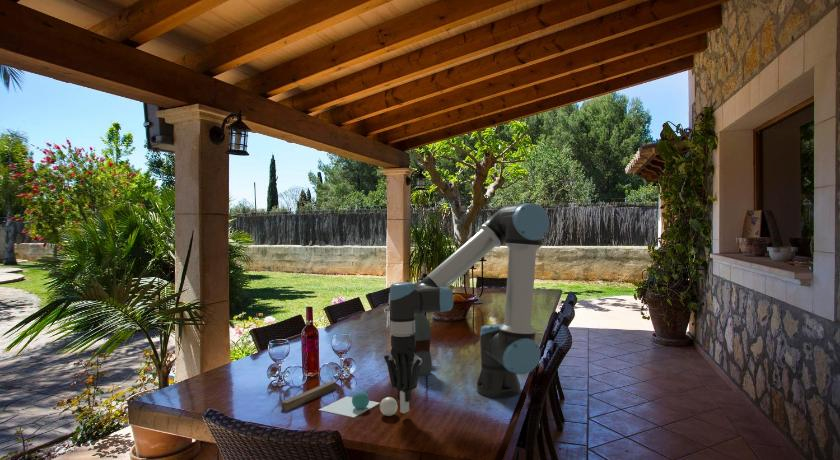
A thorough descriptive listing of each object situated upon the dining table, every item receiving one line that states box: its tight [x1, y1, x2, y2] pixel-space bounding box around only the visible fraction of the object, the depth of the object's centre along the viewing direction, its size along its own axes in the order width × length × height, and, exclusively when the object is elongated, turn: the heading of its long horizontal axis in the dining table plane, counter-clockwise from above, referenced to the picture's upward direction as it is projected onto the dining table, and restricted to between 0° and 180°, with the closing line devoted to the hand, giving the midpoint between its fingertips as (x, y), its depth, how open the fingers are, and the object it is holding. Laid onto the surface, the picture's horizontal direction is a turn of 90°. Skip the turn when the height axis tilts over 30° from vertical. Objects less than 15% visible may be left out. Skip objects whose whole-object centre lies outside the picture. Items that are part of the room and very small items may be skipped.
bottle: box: [411, 313, 433, 378], centre depth 200 cm, size 9×9×30 cm
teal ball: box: [351, 390, 370, 409], centre depth 162 cm, size 6×6×6 cm
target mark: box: [318, 395, 381, 418], centre depth 164 cm, size 14×14×1 cm
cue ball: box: [379, 396, 399, 417], centre depth 156 cm, size 6×6×6 cm
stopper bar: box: [281, 381, 337, 412], centre depth 173 cm, size 2×24×2 cm, turn 150°
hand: (404, 411), depth 154 cm, fingers closed
